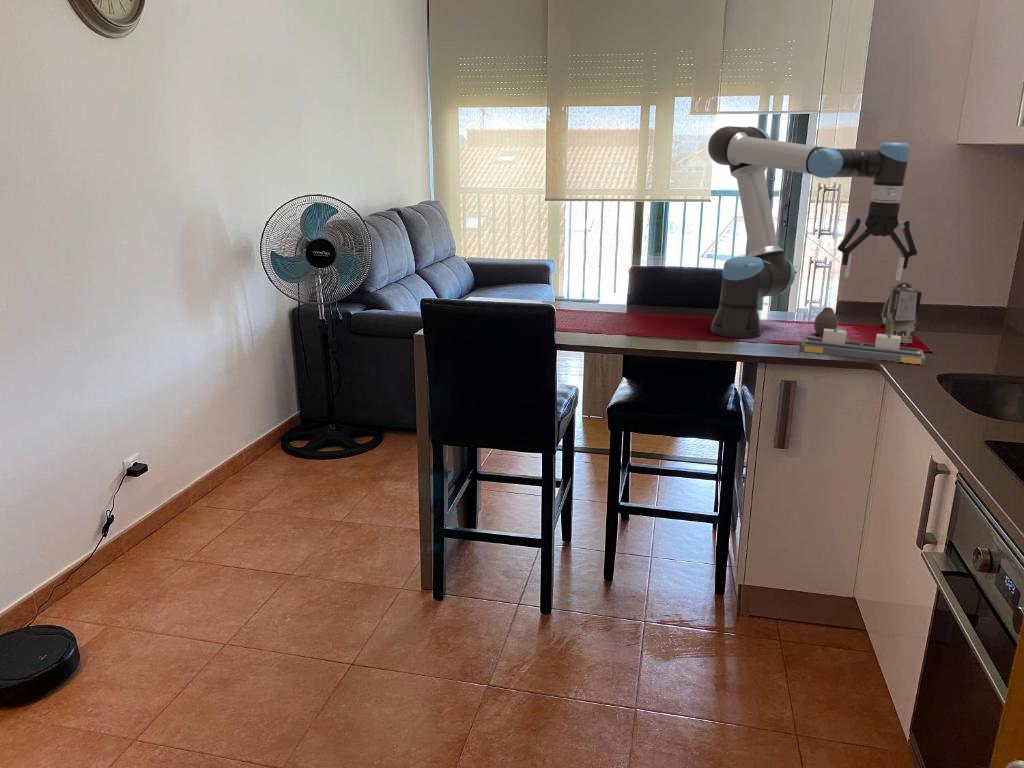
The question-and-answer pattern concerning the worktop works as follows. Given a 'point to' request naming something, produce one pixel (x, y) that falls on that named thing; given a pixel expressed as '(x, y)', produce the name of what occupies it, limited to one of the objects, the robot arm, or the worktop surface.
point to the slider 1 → (834, 336)
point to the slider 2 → (887, 342)
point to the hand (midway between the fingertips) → (871, 278)
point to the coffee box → (902, 313)
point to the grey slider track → (863, 351)
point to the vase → (825, 321)
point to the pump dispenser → (885, 309)
